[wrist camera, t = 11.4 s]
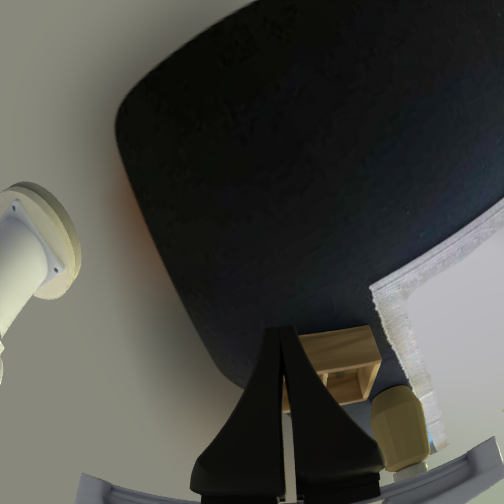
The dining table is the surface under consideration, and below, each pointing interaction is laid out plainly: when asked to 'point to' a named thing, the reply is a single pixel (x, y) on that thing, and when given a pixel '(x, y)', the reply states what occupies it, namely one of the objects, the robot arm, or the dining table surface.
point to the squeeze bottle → (400, 431)
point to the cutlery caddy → (342, 362)
